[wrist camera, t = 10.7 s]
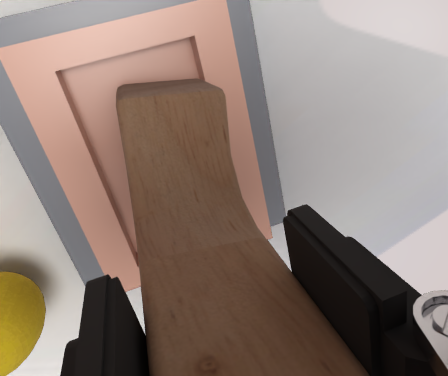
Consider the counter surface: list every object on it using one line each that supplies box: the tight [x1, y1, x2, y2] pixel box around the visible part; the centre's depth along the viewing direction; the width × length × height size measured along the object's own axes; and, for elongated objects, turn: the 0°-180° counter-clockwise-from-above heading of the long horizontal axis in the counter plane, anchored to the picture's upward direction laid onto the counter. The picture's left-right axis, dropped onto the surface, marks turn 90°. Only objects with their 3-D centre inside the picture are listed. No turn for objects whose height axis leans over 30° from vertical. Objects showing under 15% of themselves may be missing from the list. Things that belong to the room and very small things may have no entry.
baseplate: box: [0, 0, 286, 292], centre depth 22 cm, size 16×18×5 cm
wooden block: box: [116, 78, 370, 376], centre depth 11 cm, size 9×4×18 cm, turn 4°
